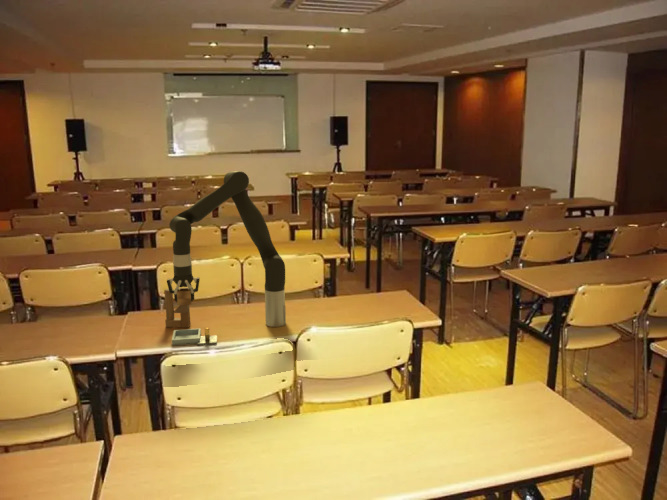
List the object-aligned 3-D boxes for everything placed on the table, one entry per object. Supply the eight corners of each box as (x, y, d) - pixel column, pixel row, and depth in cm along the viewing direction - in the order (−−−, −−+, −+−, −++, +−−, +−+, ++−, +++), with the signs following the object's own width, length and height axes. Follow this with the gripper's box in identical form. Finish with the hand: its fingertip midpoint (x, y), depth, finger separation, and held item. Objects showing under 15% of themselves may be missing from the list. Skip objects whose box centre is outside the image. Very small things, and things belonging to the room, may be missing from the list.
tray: (200, 333, 253) (200, 328, 252) (199, 343, 242) (199, 338, 241) (174, 335, 251) (174, 330, 250) (172, 345, 240) (171, 340, 239)
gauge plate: (217, 337, 249) (216, 324, 247) (216, 344, 241) (216, 331, 240) (198, 338, 247) (197, 325, 246) (197, 345, 240) (197, 332, 238)
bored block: (191, 300, 245) (191, 287, 244) (191, 304, 240) (190, 291, 239) (178, 301, 244) (177, 288, 243) (177, 305, 239) (176, 292, 238)
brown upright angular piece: (188, 327, 260) (186, 290, 256) (165, 327, 260) (162, 290, 256) (190, 324, 263) (188, 288, 259) (167, 324, 263) (165, 288, 259)
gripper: (200, 260, 243) (201, 297, 247) (165, 262, 240) (168, 299, 244) (199, 265, 236) (201, 303, 240) (164, 266, 233) (166, 305, 237)
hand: (184, 301), depth 242 cm, fingers closed on bored block, 5 cm apart
